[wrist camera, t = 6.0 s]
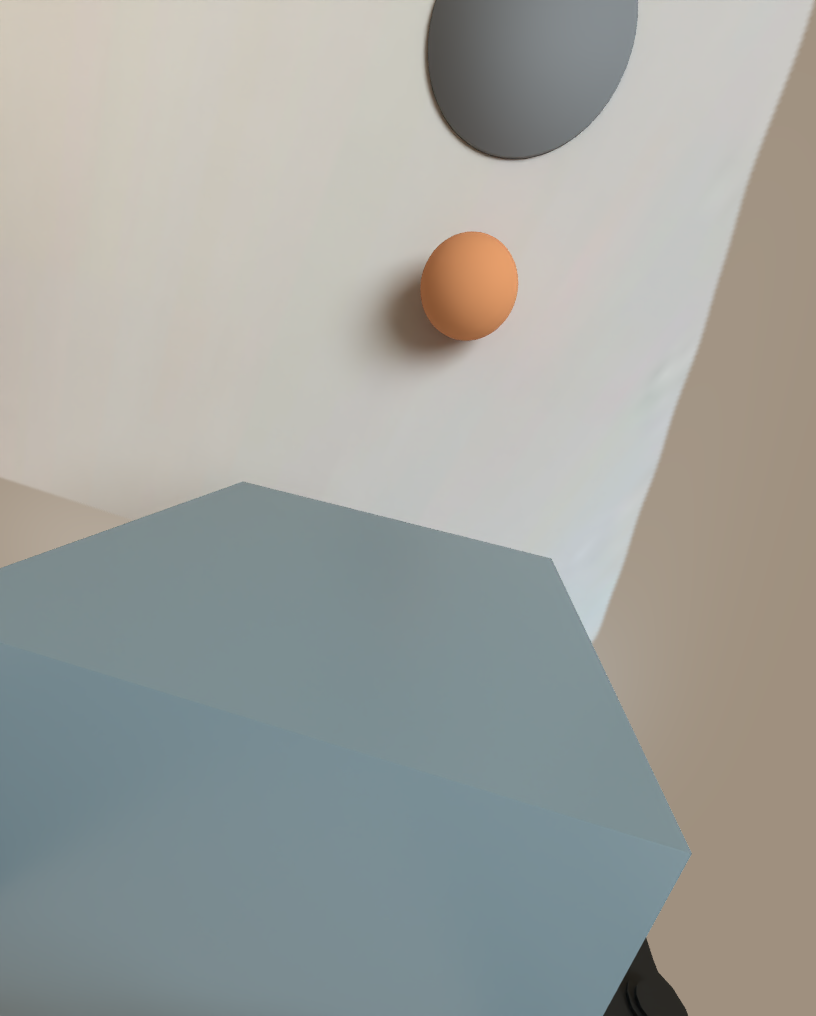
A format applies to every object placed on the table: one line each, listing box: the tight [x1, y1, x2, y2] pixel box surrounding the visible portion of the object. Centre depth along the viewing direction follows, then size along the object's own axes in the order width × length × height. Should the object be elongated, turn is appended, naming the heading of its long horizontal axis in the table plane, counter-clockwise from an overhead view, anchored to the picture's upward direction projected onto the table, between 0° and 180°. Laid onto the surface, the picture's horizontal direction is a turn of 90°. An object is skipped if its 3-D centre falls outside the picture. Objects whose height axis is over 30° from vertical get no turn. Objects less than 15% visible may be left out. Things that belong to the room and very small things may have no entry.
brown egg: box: [420, 232, 518, 341], centre depth 22 cm, size 5×5×5 cm
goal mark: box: [428, 0, 638, 159], centre depth 21 cm, size 10×10×1 cm
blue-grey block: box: [0, 482, 692, 1016], centre depth 11 cm, size 10×10×9 cm
